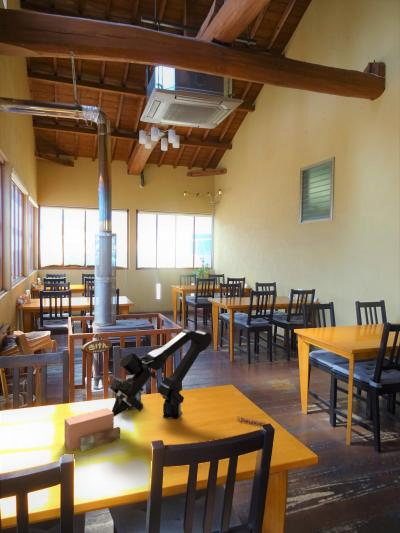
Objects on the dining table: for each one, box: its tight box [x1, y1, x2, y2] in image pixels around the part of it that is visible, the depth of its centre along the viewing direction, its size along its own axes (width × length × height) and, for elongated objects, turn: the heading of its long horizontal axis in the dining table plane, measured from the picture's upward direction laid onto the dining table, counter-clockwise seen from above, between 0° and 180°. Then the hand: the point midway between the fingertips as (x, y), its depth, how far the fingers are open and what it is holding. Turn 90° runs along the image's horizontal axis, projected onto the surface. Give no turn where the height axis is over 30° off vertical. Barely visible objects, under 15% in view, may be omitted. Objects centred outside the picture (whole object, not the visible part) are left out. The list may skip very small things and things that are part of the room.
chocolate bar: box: [236, 415, 268, 427], centre depth 147 cm, size 3×12×2 cm, turn 68°
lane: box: [79, 426, 121, 452], centre depth 133 cm, size 14×12×4 cm
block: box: [64, 407, 115, 452], centre depth 132 cm, size 16×6×9 cm, turn 127°
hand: (111, 416), depth 137 cm, fingers closed, pressing on block
